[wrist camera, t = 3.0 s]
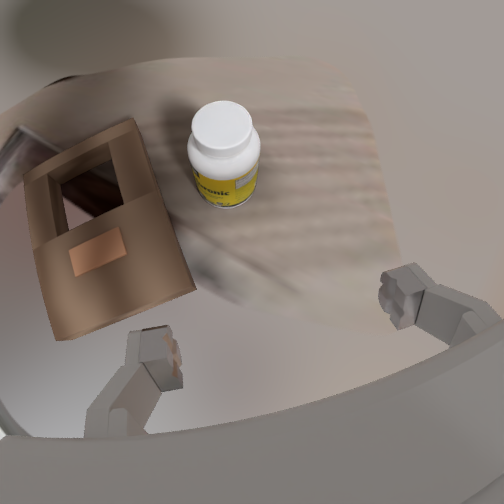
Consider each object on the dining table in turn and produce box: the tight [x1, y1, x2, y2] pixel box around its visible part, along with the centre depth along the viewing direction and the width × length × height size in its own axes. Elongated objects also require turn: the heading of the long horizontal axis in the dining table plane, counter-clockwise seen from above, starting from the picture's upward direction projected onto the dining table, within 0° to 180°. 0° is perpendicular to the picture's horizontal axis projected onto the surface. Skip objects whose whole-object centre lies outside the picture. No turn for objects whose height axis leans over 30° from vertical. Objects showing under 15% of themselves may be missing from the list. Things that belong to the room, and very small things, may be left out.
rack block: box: [23, 118, 197, 341], centre depth 26 cm, size 13×17×3 cm
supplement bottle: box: [187, 101, 260, 209], centre depth 24 cm, size 5×5×10 cm
